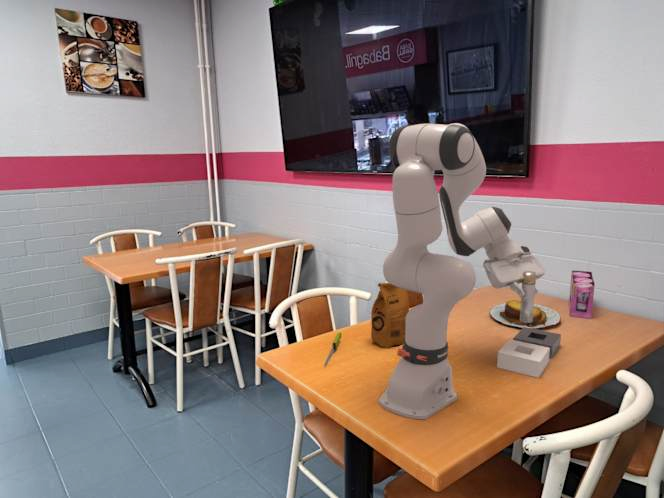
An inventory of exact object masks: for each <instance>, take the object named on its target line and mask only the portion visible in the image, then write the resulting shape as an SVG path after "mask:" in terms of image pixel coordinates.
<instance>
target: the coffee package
mask: <svg viewBox="0 0 664 498" xmlns="http://www.w3.org/2000/svg"><path fill="white" fill-rule="evenodd" d="M377 286H378V287H379V291H378V294H377V296H376V299H375V300H374V303H373V305H372V307H371V308H372V309H371V313H370V314H371V316H370V317H371V332H370V333H371V334H370V338H371V340H372V342H373V343H374V344H376V345H378V346H380V347H382V348H385V349H389V348H391V347H393V346H400V345H403V343H404V340H405V318H406V315H407V313H408V311H409V310H410V303H409V301H410V300H409V295H408V293H407V290H404V289H400V288H398V287H396V286H394V285H392V284H390V283H388V282H379V283H378V284H377Z"/></svg>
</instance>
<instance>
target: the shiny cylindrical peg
mask: <svg viewBox="0 0 664 498" xmlns="http://www.w3.org/2000/svg"><path fill="white" fill-rule="evenodd" d="M536 282H537V280H536V272H533V271H523V273H522V283H521V289H524V290H525V292H526V293H527V295H526V296H524V297H520V302H521V307H520V321H521V322H525V323H531V322H533V308H534V304H535V295H536V294H535V284H536Z"/></svg>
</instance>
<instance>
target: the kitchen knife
mask: <svg viewBox="0 0 664 498" xmlns="http://www.w3.org/2000/svg"><path fill="white" fill-rule="evenodd" d="M341 339H342V332H337V333H336V335H335V338H334V340H333V341H332V346H331V349H330V351H329V354H328V355H327V357H326V360H325V362H324V366H325V367H326V366H327V365H328V364H329V362H330V360H331V359H332V356H333V355H334V352H335V351H337V350H338V344H339V343H340V342H341V341H340V340H341Z"/></svg>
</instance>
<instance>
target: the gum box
mask: <svg viewBox="0 0 664 498" xmlns="http://www.w3.org/2000/svg"><path fill="white" fill-rule="evenodd" d="M570 277H571V278H570V286H569V287H570V288H569V300H568V303H569V305H568V306H569V307H568V308H569V310H568V311H569V316H570V317H572V318H573V317H574V318H582V319H587V320H588V319H592V317H593V316H592V315H593V308H594V307H593V306H594V296H595V295H594V294H595V280H594V278H593V272H592V271H584V270H572V271H571V276H570Z"/></svg>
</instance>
